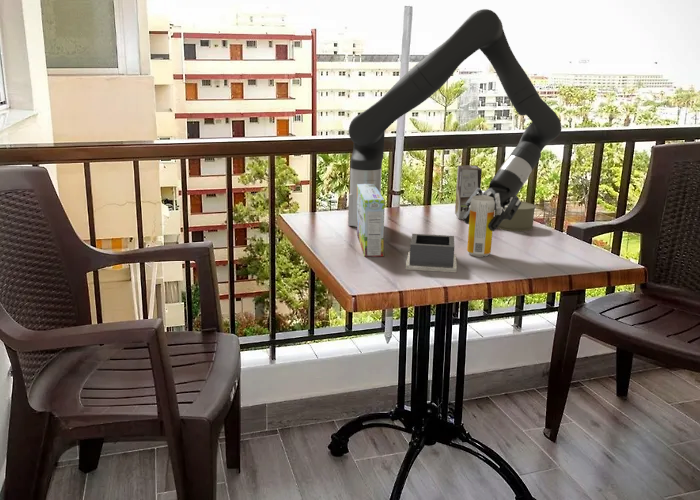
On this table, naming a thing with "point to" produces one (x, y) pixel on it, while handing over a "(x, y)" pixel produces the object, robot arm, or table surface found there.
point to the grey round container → (519, 218)
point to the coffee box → (466, 187)
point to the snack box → (370, 220)
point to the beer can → (480, 226)
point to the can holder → (431, 253)
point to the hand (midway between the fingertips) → (477, 225)
